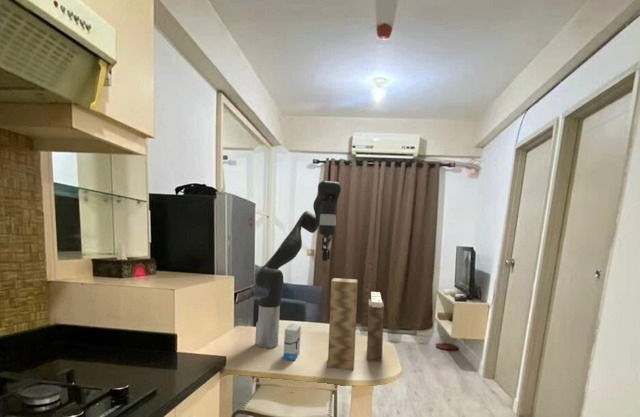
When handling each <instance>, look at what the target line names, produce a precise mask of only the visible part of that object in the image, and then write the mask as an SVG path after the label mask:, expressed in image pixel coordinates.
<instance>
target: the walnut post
mask: <svg viewBox="0 0 640 417" xmlns="http://www.w3.org/2000/svg"><path fill="white" fill-rule="evenodd" d="M381 300H382V299H381ZM384 305H385V304H384V301H383V300H382V308H379V307H372V304H371V298H368V313H367V316H368V317H367V338H366V339H367V340H366V341H367V342H366V361H370V362H371V361H373V362H381V361H382V362H383V340H384V339H383V338H384V311H385V310H384V308H385V306H384Z"/></svg>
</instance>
